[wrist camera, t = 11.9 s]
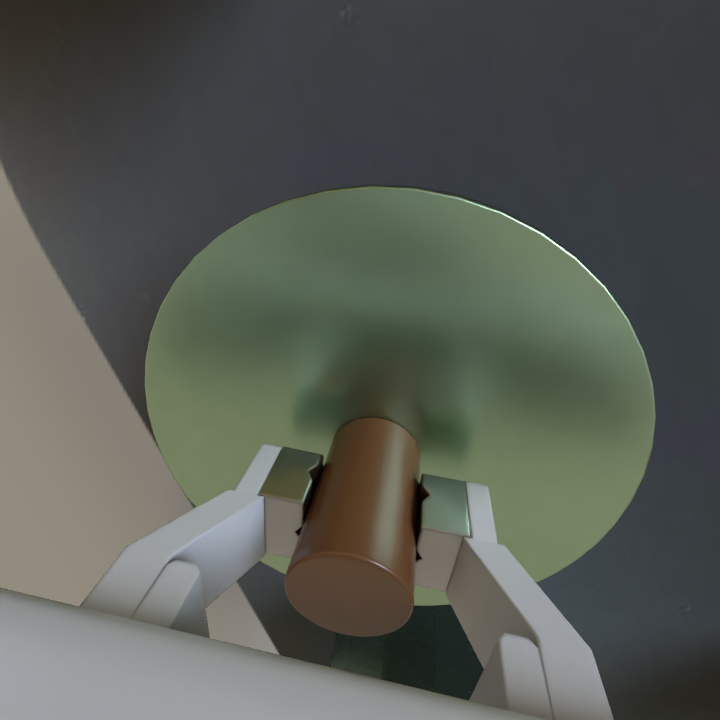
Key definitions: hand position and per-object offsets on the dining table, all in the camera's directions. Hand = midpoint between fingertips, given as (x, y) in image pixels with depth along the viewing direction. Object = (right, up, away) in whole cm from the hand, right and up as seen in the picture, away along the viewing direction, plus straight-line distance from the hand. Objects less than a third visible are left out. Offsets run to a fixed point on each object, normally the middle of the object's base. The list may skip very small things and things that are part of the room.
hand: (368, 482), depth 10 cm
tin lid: (0, +1, +1) cm, 2 cm away
